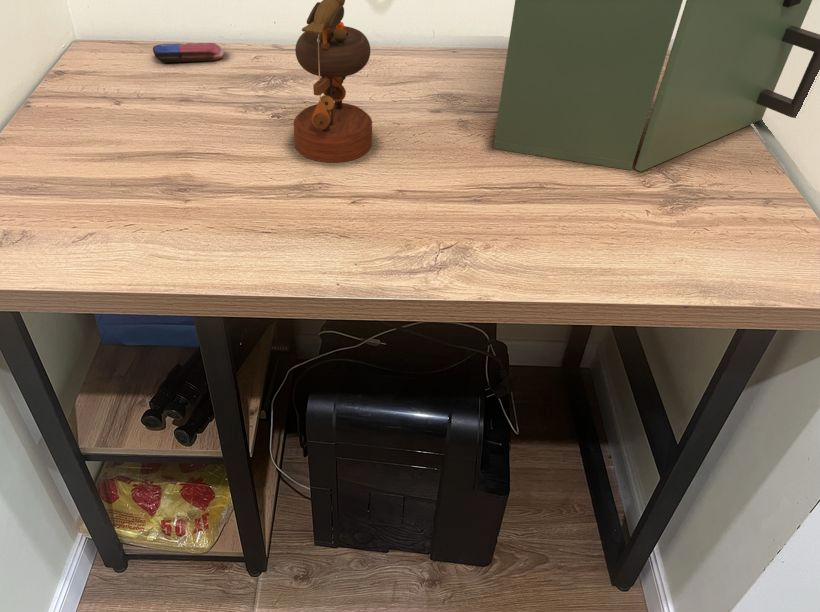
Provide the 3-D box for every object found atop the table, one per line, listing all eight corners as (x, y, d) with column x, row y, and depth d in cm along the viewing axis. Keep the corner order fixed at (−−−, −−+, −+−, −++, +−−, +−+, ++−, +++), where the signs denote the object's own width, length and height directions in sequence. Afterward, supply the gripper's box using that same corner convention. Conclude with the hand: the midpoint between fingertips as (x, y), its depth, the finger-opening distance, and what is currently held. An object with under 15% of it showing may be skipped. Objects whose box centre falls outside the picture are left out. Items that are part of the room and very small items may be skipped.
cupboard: (639, 88, 110) (691, -94, 93) (631, 170, 92) (694, -37, 75) (522, 72, 114) (552, -105, 97) (492, 148, 96) (523, -53, 79)
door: (799, 135, 99) (891, -59, 82) (678, 192, 88) (754, -19, 71) (755, 117, 103) (834, -72, 86) (634, 168, 92) (697, -36, 75)
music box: (373, 170, 92) (361, 6, 78) (289, 173, 93) (263, 12, 79) (379, 116, 103) (369, -36, 89) (303, 119, 104) (283, -31, 90)
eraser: (223, 52, 120) (222, 41, 119) (224, 61, 117) (223, 50, 116) (154, 53, 118) (153, 42, 117) (153, 63, 115) (151, 52, 114)
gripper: (796, -248, 75) (716, -8, 91) (941, -236, 67) (823, 25, 83) (833, -251, 78) (749, -19, 94) (975, -240, 70) (856, 12, 86)
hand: (784, 2), depth 89 cm, fingers closed on door
